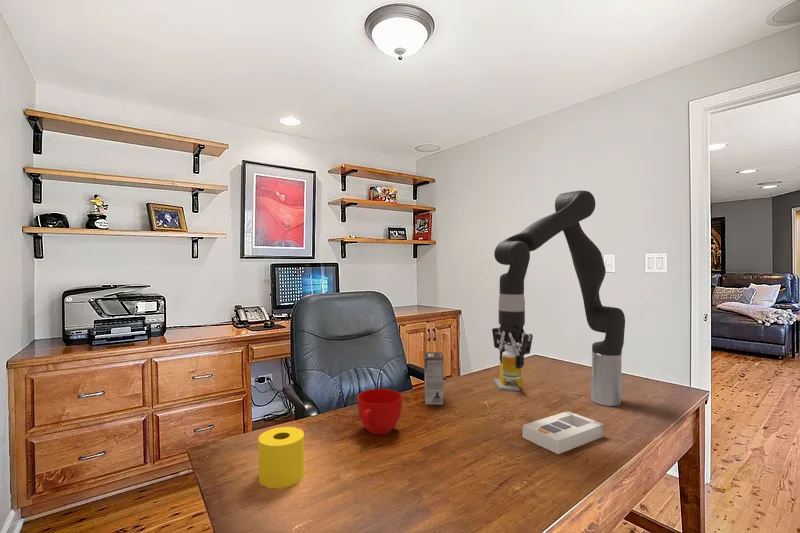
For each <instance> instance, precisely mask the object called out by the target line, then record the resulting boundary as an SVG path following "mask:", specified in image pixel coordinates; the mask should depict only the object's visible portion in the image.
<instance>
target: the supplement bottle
mask: <svg viewBox="0 0 800 533" xmlns="http://www.w3.org/2000/svg"><path fill="white" fill-rule="evenodd" d="M521 373H522V368H516V351H515V349H514V348H513V346H512V344H511V343H507V344H505V351H504V352H503V353H502V376H503V377H504V378H506V379H512V380H514V379H520V378H522V374H521Z"/></svg>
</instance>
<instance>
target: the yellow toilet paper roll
mask: <svg viewBox="0 0 800 533" xmlns="http://www.w3.org/2000/svg"><path fill="white" fill-rule="evenodd" d="M304 476H305V432H304V430H302V429H301V428H298V427H293V426H281V427H275V428H271V429H268V430H266V431H264V432H262V433H261V434H260V435H259V436H258V483H259V484H260V486H262V485H263V486H265V487H264V488H266V487H269V488H268V489H271V488H280V489H284V488H285V487H286V488H289V487H288V486H290V487H292V486H294V484H295V485H296V484H298V483H299V482H301V481H302V480H303V479H304ZM301 479H302V480H301ZM300 480H301V481H300ZM263 486H262V487H263ZM286 488H285V489H286Z"/></svg>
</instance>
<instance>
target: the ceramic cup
mask: <svg viewBox="0 0 800 533" xmlns="http://www.w3.org/2000/svg"><path fill="white" fill-rule="evenodd" d="M402 405H403V396H402V394H401V393H400V392H398V391H396V390H392V389H385V388H375V389H374V388H373V389H369V390H365V391H361V392H360V393H358V395H357V409H358V411H357V412H358V415H359V419H360V422H361V423H362V425H363V426H364V428H365V429H366V430H367V431H368V432H369V434H372V435H376V436H380V435H381V436H382V435H387V434H390V433H391V431H392V430H393V429H394V428H395V426H397V424H398V422H399V419H400V417H401V414H402Z"/></svg>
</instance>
